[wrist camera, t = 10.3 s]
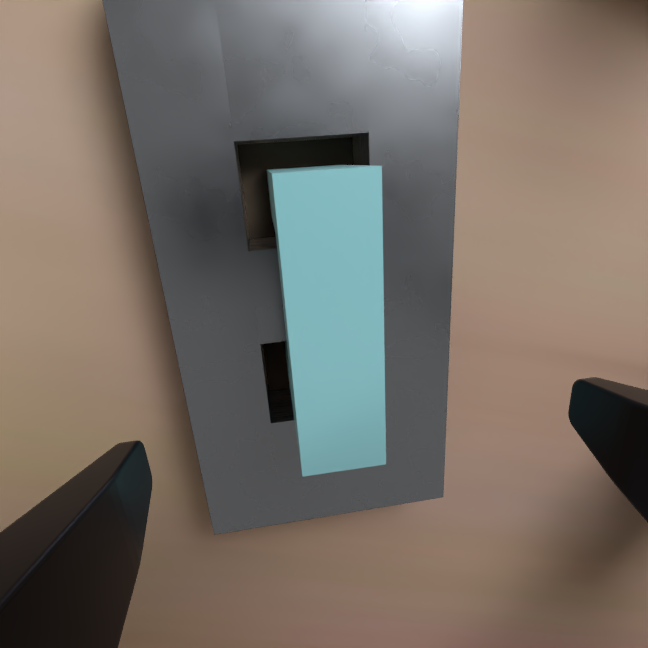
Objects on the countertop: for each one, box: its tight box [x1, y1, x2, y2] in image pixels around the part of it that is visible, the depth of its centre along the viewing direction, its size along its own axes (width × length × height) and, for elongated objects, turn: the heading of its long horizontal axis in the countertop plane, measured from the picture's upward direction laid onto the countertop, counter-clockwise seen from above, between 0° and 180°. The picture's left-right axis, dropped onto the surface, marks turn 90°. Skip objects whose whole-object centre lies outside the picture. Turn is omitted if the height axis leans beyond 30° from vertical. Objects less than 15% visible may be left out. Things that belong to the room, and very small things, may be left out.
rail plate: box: [103, 0, 463, 535], centre depth 19 cm, size 12×24×3 cm, turn 4°
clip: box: [267, 165, 386, 477], centre depth 17 cm, size 3×10×8 cm, turn 4°
